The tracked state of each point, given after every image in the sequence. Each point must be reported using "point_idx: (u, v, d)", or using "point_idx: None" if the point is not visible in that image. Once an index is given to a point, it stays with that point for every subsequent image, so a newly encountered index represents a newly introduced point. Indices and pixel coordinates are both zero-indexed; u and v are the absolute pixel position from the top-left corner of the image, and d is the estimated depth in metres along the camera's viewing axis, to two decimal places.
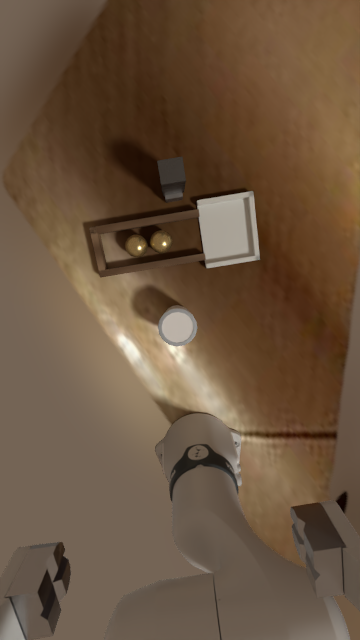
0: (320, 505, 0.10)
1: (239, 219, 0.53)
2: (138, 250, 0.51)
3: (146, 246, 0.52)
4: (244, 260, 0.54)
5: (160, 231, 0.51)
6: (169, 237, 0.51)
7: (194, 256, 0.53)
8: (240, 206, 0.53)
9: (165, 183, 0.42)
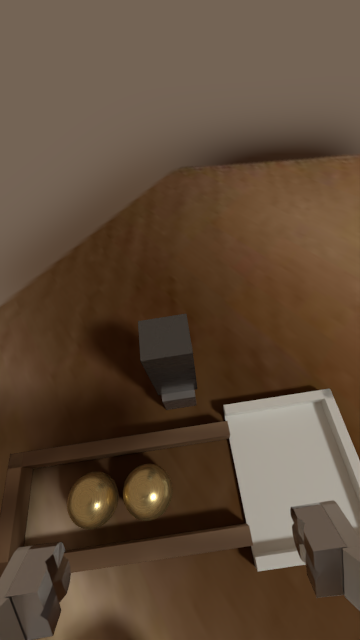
0: (320, 505, 0.10)
1: (314, 444, 0.26)
2: (89, 512, 0.22)
3: (112, 501, 0.23)
4: None
5: (147, 466, 0.24)
6: (165, 481, 0.23)
7: (224, 533, 0.22)
8: (310, 417, 0.27)
9: (150, 358, 0.20)
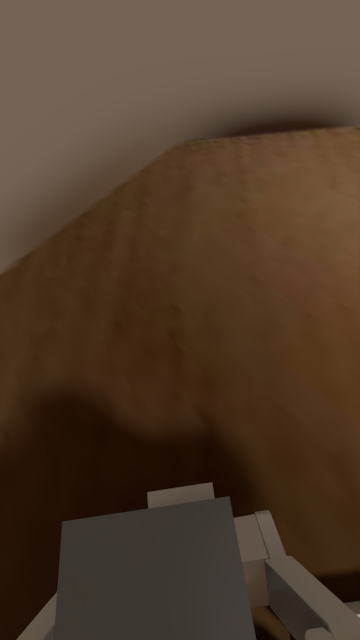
0: (253, 515, 0.10)
1: None
2: None
3: None
4: None
5: None
6: None
7: None
8: None
9: None
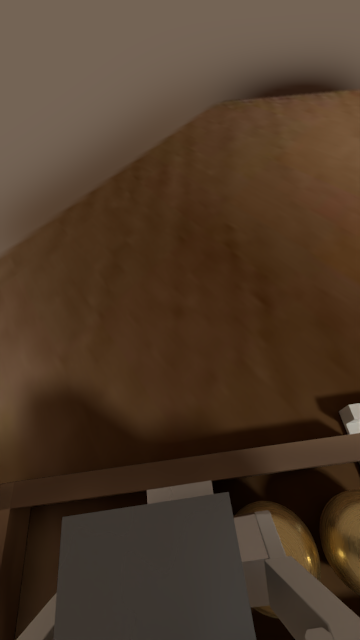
0: (253, 515, 0.10)
1: None
2: None
3: None
4: None
5: None
6: None
7: None
8: None
9: None
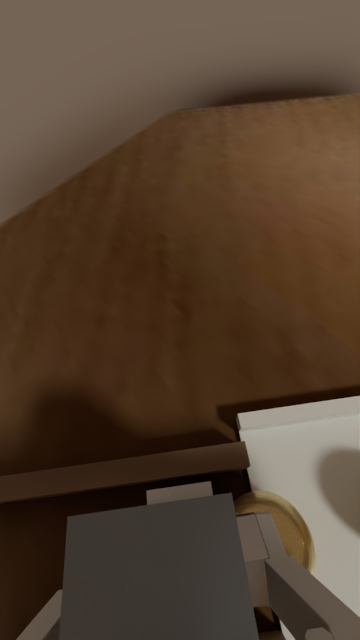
0: (253, 515, 0.10)
1: None
2: None
3: (309, 557, 0.12)
4: None
5: None
6: None
7: None
8: None
9: None
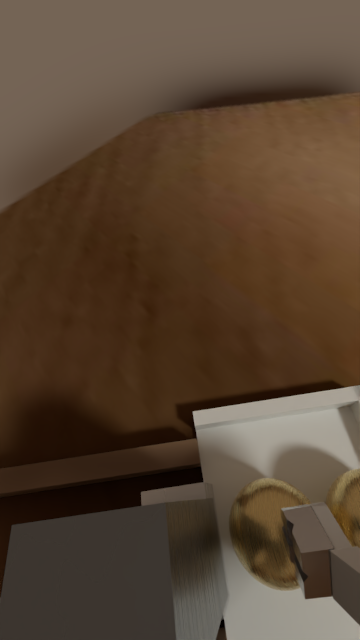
0: (309, 507, 0.10)
1: None
2: None
3: None
4: None
5: None
6: None
7: None
8: (334, 432, 0.16)
9: None
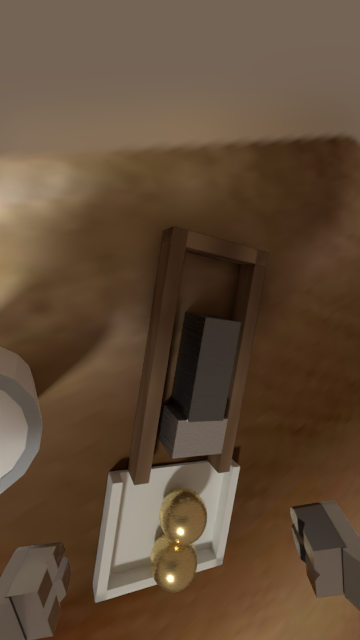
0: (320, 505, 0.10)
1: None
2: None
3: None
4: (103, 568, 0.23)
5: None
6: None
7: (149, 460, 0.23)
8: (201, 537, 0.28)
9: (189, 313, 0.24)
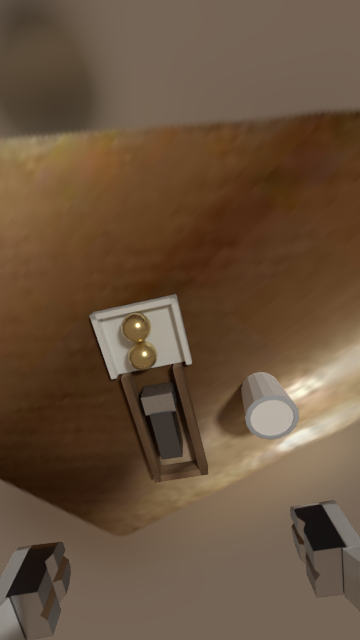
0: (320, 505, 0.10)
1: None
2: (145, 344, 0.39)
3: None
4: (178, 317, 0.39)
5: None
6: None
7: (177, 380, 0.42)
8: (111, 324, 0.41)
9: (182, 442, 0.47)
